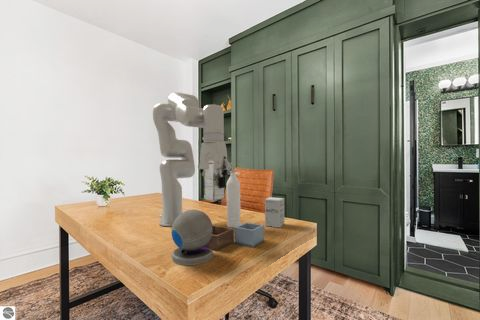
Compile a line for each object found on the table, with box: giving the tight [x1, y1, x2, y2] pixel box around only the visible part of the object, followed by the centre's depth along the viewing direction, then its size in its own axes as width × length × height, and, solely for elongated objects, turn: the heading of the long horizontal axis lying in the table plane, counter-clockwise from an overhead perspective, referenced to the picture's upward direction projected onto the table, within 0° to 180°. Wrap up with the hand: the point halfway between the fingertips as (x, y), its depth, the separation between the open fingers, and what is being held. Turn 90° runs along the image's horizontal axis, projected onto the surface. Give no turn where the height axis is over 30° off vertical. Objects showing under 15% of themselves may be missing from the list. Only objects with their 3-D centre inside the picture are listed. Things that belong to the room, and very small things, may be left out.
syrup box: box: [203, 161, 226, 202], centre depth 87 cm, size 6×6×14 cm
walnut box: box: [205, 224, 235, 252], centre depth 87 cm, size 10×10×5 cm
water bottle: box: [225, 171, 242, 229], centre depth 111 cm, size 9×6×25 cm
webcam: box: [170, 209, 214, 266], centre depth 76 cm, size 13×13×15 cm
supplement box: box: [264, 196, 285, 229], centre depth 110 cm, size 7×7×13 cm
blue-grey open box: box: [234, 222, 265, 249], centre depth 88 cm, size 8×8×6 cm
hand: (214, 186), depth 87 cm, fingers closed on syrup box, 6 cm apart
